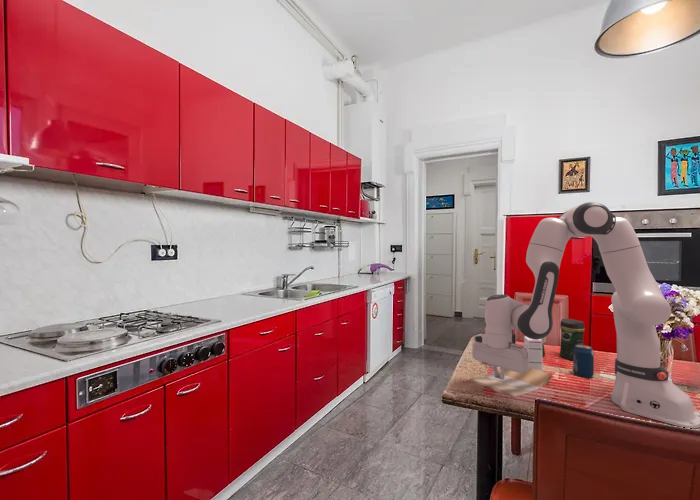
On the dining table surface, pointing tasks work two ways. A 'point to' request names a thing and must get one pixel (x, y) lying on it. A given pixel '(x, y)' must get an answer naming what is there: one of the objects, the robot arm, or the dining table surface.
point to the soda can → (583, 361)
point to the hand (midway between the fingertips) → (499, 378)
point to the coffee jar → (570, 336)
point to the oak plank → (530, 376)
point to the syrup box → (534, 353)
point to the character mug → (543, 345)
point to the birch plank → (498, 386)
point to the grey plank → (514, 383)
